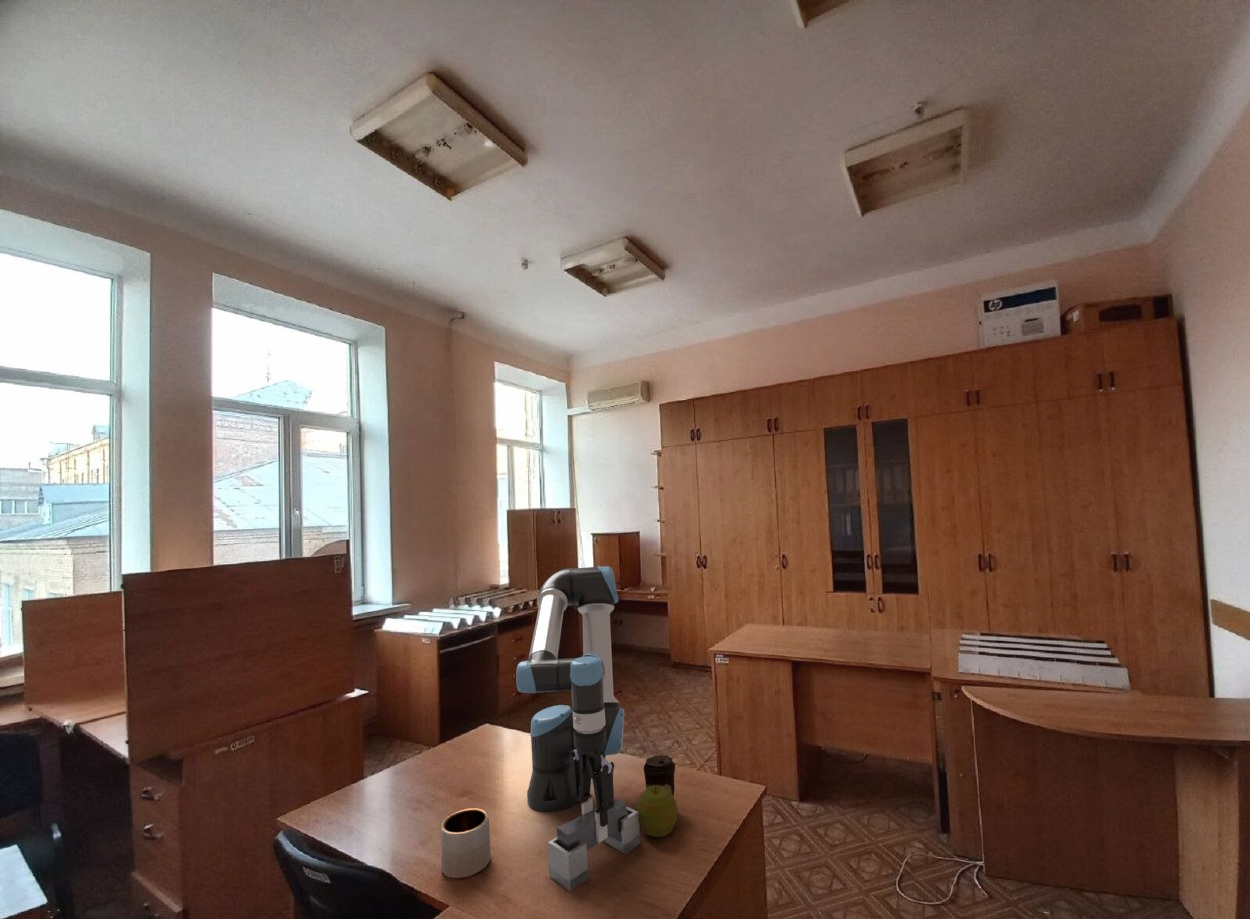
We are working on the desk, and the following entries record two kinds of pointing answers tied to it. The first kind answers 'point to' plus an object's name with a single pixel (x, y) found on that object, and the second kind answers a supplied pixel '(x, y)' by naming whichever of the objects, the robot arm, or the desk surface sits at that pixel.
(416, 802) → the desk surface
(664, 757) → the coffee cup
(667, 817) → the apple
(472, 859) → the planter
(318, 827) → the desk surface
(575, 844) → the rail
